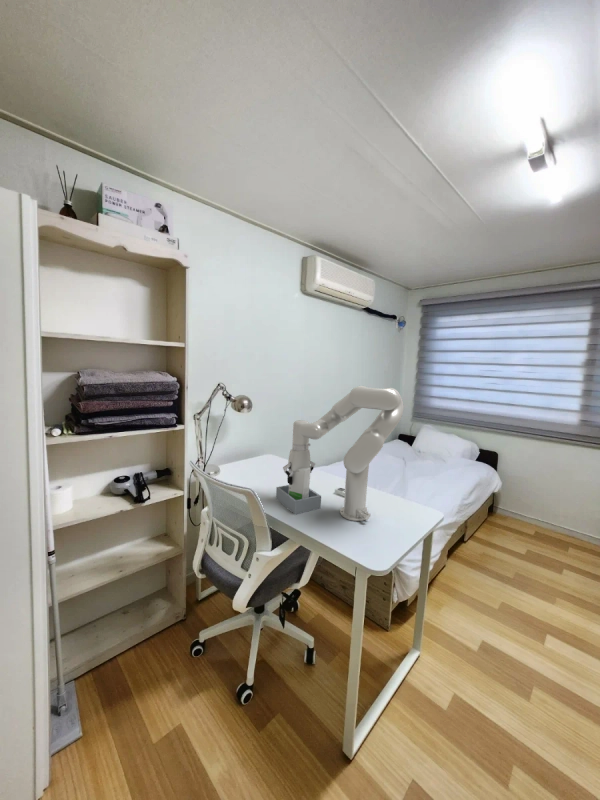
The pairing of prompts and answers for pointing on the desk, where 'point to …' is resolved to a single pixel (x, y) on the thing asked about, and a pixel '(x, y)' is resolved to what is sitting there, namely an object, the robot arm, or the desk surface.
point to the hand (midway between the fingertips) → (298, 482)
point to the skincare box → (300, 484)
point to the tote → (301, 504)
